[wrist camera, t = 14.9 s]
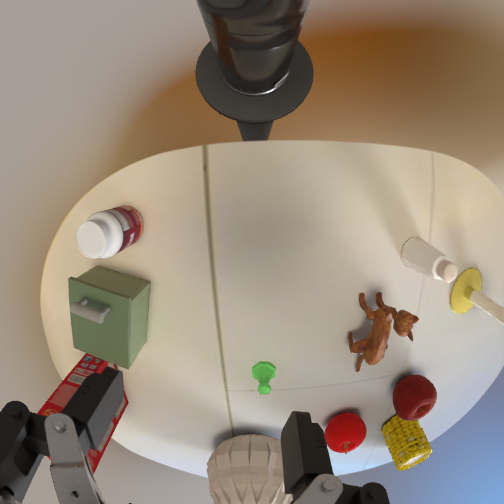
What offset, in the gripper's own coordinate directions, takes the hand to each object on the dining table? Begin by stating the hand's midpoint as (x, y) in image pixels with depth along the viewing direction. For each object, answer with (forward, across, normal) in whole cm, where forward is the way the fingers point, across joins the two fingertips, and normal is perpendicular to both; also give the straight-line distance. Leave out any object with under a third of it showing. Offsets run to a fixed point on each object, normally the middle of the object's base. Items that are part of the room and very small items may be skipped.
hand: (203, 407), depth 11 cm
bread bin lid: (+22, +18, +14) cm, 32 cm away
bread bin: (+30, +18, +15) cm, 38 cm away
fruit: (+30, -30, +33) cm, 54 cm away
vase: (+30, -13, +46) cm, 57 cm away
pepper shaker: (+30, -28, -6) cm, 42 cm away
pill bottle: (+30, +18, +1) cm, 35 cm away
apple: (+30, -41, +21) cm, 55 cm away
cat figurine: (+30, -24, +9) cm, 40 cm away
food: (+30, -48, +35) cm, 67 cm away
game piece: (+30, -9, +21) cm, 38 cm away
